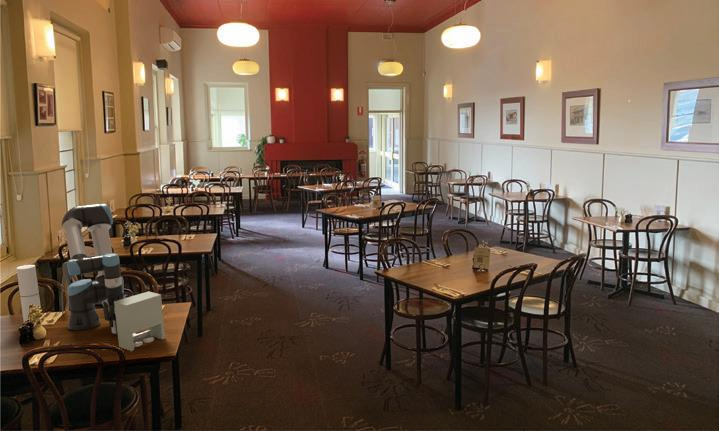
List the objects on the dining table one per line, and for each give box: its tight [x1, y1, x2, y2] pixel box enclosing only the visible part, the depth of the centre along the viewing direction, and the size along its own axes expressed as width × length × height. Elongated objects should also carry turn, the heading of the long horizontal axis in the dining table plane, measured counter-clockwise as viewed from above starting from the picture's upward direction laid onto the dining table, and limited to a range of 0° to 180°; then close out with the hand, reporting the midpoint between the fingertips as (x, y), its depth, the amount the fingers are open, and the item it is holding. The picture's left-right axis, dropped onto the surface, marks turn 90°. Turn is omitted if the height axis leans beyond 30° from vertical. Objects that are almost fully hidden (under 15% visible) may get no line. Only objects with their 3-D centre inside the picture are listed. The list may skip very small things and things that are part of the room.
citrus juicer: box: [60, 261, 78, 315], centre depth 315 cm, size 11×10×30 cm
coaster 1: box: [133, 340, 144, 348], centre depth 274 cm, size 5×5×1 cm
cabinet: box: [114, 290, 166, 352], centre depth 274 cm, size 10×18×22 cm, turn 143°
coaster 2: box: [142, 336, 155, 344], centre depth 278 cm, size 5×5×1 cm
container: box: [15, 264, 42, 323], centre depth 307 cm, size 9×9×30 cm
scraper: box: [111, 310, 152, 342], centre depth 282 cm, size 20×13×11 cm, turn 53°
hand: (118, 331), depth 287 cm, fingers closed on scraper, 4 cm apart
